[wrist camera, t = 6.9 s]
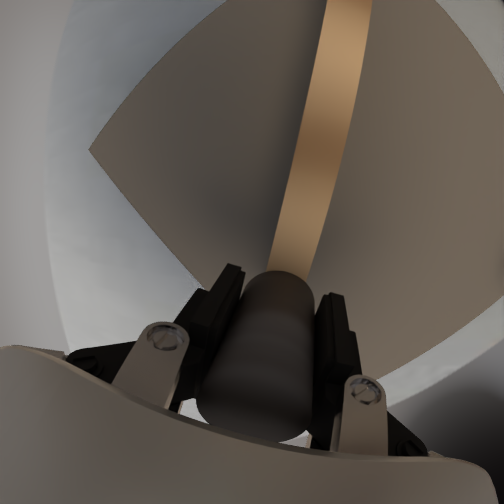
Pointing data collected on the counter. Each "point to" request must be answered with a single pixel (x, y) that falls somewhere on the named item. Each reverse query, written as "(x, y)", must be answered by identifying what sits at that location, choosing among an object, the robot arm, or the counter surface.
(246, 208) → the taupe mat
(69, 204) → the counter surface
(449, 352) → the counter surface
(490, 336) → the counter surface
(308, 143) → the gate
